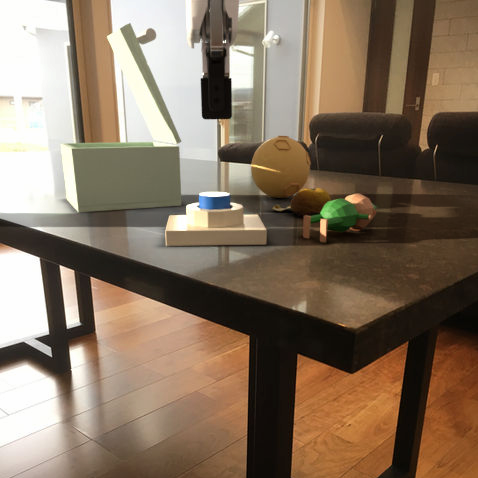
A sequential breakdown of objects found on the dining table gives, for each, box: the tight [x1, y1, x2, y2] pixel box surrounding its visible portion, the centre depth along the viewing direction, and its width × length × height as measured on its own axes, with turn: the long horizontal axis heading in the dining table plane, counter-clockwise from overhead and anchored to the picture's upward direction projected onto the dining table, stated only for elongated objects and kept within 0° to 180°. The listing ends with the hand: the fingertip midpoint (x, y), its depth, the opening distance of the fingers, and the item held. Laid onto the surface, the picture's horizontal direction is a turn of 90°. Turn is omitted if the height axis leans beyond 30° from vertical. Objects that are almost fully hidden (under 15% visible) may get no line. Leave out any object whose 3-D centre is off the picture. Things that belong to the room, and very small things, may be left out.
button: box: [198, 191, 231, 210], centre depth 59 cm, size 4×4×2 cm
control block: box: [164, 202, 268, 247], centre depth 60 cm, size 11×9×4 cm
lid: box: [106, 22, 182, 145], centre depth 79 cm, size 16×13×5 cm
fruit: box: [271, 187, 332, 218], centre depth 74 cm, size 8×8×4 cm
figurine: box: [302, 193, 378, 244], centre depth 62 cm, size 4×7×12 cm
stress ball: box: [250, 135, 312, 199], centre depth 87 cm, size 10×10×10 cm
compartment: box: [60, 141, 182, 213], centre depth 81 cm, size 16×13×9 cm
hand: (216, 118), depth 56 cm, fingers closed
